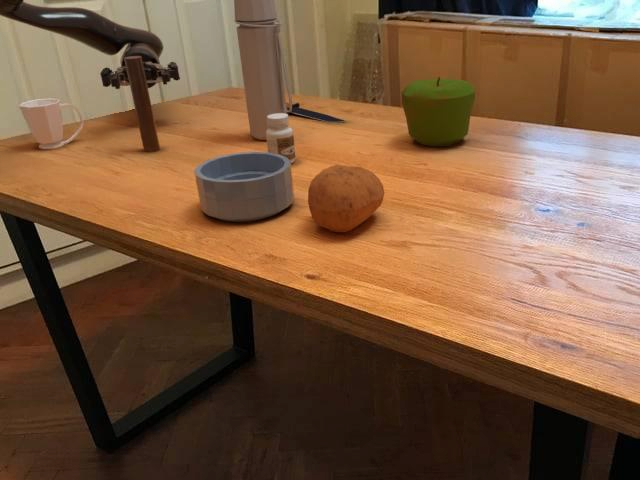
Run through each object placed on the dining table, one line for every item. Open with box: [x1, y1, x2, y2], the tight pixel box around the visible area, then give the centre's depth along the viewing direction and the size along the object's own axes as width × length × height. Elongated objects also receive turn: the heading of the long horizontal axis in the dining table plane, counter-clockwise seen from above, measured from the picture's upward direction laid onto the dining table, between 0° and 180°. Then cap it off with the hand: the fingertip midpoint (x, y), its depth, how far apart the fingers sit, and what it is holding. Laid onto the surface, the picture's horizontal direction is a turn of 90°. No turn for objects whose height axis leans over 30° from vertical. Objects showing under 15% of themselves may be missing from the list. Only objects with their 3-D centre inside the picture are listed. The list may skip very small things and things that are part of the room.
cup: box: [18, 97, 84, 150], centre depth 123 cm, size 7×10×8 cm
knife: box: [286, 102, 347, 123], centre depth 138 cm, size 26×3×5 cm
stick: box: [124, 56, 161, 153], centre depth 115 cm, size 3×3×16 cm
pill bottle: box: [266, 113, 297, 165], centre depth 108 cm, size 4×4×8 cm
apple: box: [400, 76, 476, 148], centre depth 115 cm, size 12×12×11 cm
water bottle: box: [233, 0, 293, 141], centre depth 118 cm, size 9×8×25 cm
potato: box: [307, 164, 385, 233], centre depth 85 cm, size 9×11×8 cm
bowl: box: [193, 151, 295, 223], centre depth 91 cm, size 13×13×6 cm
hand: (140, 81), depth 123 cm, fingers open, 8 cm apart
